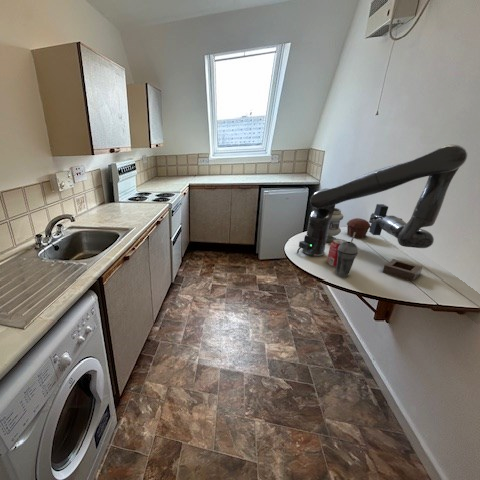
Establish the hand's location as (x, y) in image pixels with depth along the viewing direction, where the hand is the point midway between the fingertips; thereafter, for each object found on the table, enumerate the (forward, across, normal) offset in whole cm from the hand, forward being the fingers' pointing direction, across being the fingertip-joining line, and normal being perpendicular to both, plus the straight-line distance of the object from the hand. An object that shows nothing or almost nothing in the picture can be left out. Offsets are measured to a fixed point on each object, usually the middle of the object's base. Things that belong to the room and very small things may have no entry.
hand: (376, 215), depth 137 cm
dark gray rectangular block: (-3, 0, +9) cm, 9 cm away
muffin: (+17, 0, +18) cm, 24 cm away
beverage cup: (-37, +24, +18) cm, 47 cm away
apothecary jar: (+7, +18, +18) cm, 26 cm away
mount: (-30, -1, +17) cm, 35 cm away
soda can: (-27, +23, +18) cm, 40 cm away
